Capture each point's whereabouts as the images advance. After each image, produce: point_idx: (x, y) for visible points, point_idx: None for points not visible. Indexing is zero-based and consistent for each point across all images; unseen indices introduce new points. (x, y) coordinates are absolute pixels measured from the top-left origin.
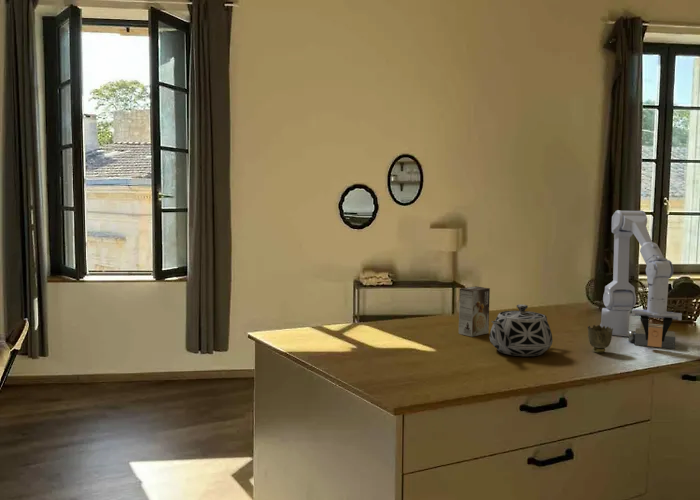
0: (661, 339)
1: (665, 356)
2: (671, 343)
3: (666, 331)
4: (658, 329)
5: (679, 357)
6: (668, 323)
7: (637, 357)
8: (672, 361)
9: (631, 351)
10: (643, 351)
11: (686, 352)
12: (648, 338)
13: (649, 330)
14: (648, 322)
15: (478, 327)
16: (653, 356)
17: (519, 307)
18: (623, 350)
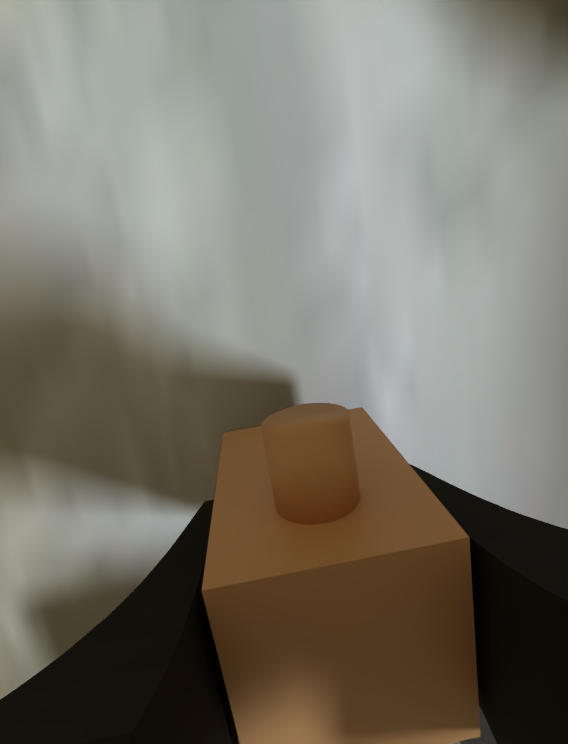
0: (222, 474)
1: (151, 265)
2: None
3: (141, 587)
4: (279, 558)
5: (20, 311)
6: (6, 729)
7: (400, 7)
8: (23, 46)
9: (480, 279)
10: (377, 354)
11: (29, 564)
12: (385, 442)
13: (426, 501)
14: (562, 596)
15: None
16: (256, 182)
17: None
18: (553, 273)
